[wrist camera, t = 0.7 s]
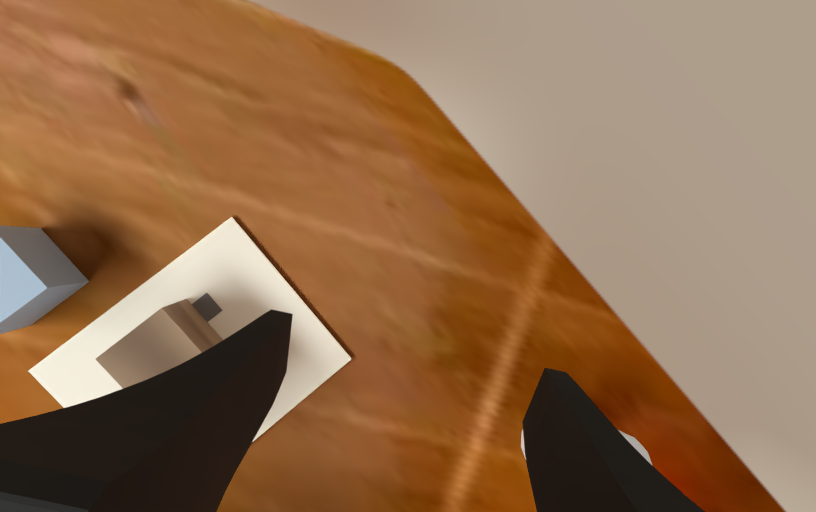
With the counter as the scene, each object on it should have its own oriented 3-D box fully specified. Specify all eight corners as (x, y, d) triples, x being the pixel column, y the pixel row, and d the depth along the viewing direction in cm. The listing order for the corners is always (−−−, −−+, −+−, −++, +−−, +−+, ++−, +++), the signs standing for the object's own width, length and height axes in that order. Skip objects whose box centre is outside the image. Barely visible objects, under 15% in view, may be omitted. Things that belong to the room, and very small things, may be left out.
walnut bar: (211, 430, 31) (190, 461, 26) (130, 342, 30) (95, 359, 25) (264, 386, 31) (253, 409, 27) (186, 298, 30) (161, 307, 26)
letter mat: (168, 511, 31) (166, 514, 30) (31, 369, 29) (27, 371, 29) (351, 357, 32) (351, 359, 32) (232, 217, 31) (231, 216, 30)
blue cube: (31, 325, 29) (-23, 340, 25) (-20, 272, 28) (-85, 277, 24) (90, 281, 30) (47, 288, 25) (41, 228, 29) (-12, 225, 24)
